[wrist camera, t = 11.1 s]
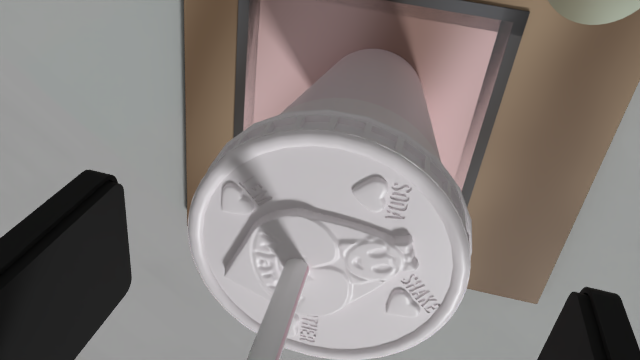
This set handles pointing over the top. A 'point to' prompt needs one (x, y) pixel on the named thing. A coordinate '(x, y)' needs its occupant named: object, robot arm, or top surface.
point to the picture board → (442, 100)
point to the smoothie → (336, 219)
